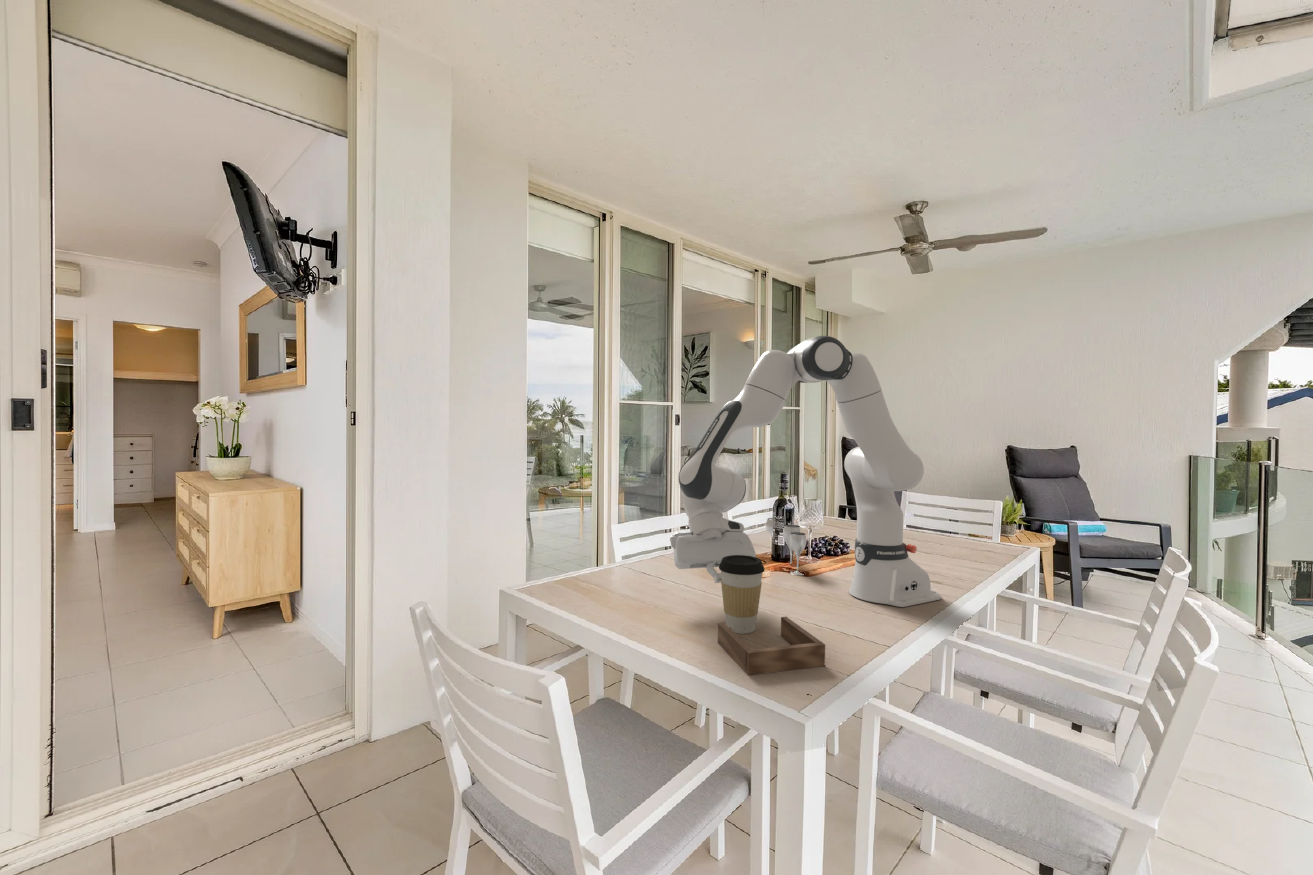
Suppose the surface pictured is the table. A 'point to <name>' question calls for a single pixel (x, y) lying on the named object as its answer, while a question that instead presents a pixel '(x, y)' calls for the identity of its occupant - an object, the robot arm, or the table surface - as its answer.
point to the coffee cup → (741, 591)
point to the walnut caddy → (775, 650)
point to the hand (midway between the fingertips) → (721, 581)
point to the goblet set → (790, 540)
